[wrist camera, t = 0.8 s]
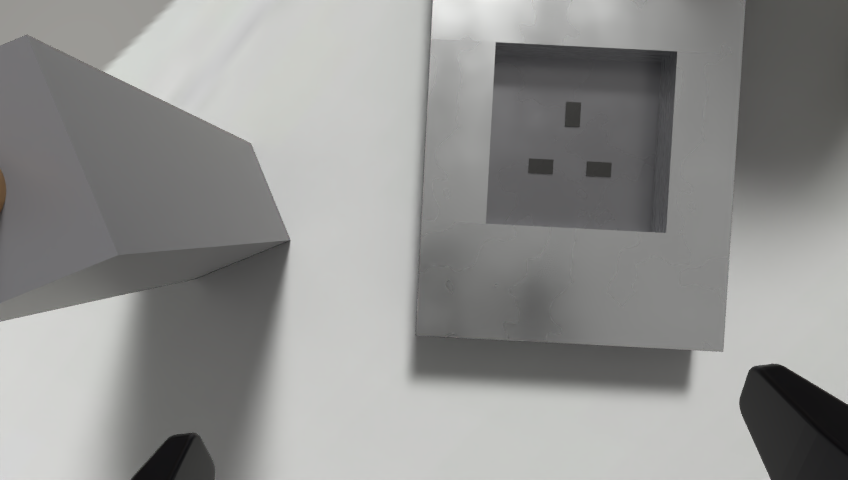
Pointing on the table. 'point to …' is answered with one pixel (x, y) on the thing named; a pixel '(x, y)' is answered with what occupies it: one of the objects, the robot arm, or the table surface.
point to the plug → (114, 187)
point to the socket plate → (580, 171)
